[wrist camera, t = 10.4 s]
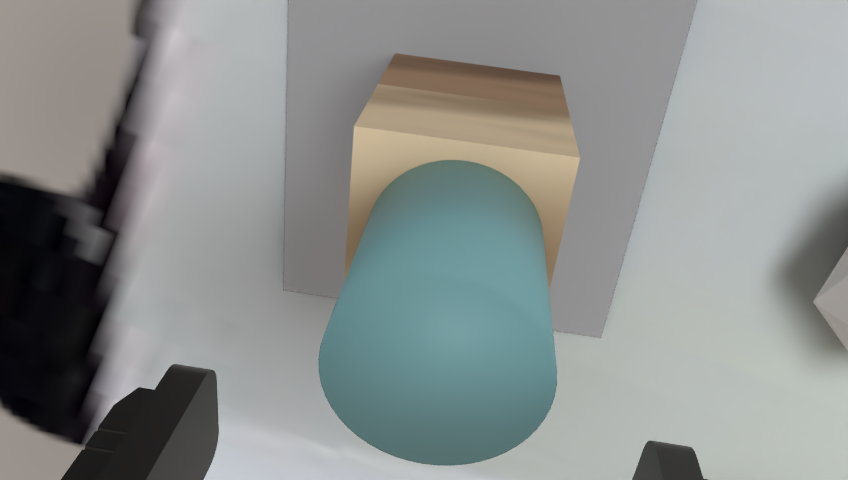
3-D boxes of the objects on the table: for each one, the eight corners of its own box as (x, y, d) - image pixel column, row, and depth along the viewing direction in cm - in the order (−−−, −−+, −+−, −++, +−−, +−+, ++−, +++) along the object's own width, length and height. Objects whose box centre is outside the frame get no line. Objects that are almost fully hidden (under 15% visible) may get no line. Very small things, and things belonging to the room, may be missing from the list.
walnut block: (395, 53, 26) (377, 83, 22) (559, 75, 26) (568, 109, 22) (382, 201, 29) (364, 249, 25) (529, 222, 28) (533, 273, 25)
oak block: (378, 83, 22) (354, 125, 19) (568, 109, 22) (580, 157, 19) (365, 249, 25) (342, 312, 22) (533, 273, 25) (537, 341, 21)
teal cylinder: (374, 147, 19) (323, 258, 14) (560, 174, 19) (580, 296, 14) (361, 301, 21) (314, 446, 16) (525, 326, 21) (532, 480, 16)
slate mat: (294, -115, 24) (290, -114, 24) (710, -61, 23) (714, -59, 23) (286, 284, 32) (283, 290, 31) (599, 331, 31) (600, 338, 31)
